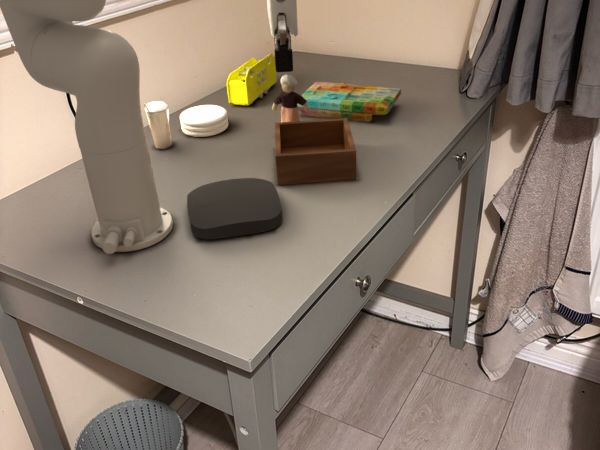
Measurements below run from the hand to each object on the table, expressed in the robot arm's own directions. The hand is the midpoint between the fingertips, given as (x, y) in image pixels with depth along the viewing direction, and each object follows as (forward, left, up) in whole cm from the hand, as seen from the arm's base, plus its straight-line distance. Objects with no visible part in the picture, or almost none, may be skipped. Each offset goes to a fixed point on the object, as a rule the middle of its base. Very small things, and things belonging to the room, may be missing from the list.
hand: (284, 63), depth 121 cm
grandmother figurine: (+1, -1, -15) cm, 15 cm away
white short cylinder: (+7, +18, -15) cm, 24 cm away
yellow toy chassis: (+25, +8, -15) cm, 31 cm away
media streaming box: (-30, +10, -15) cm, 35 cm away
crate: (-13, -4, -15) cm, 20 cm away
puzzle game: (+11, -13, -15) cm, 23 cm away
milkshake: (-1, +26, -15) cm, 30 cm away
